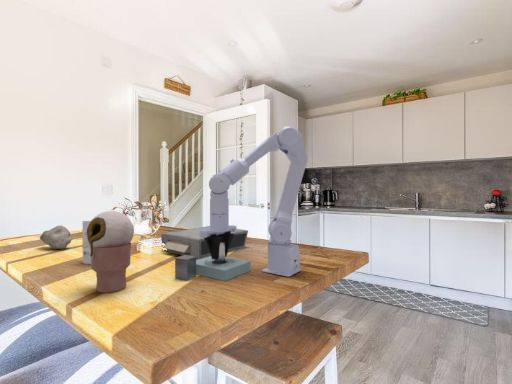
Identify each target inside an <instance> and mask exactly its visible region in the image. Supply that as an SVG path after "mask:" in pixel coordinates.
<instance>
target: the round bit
mask: <svg viewBox="0 0 512 384" xmlns="http://www.w3.org/2000/svg"><path fill="white" fill-rule="evenodd" d="M224 263H225V241H221V242H220V247H219V258H218V259H217V260H216V259H214V264H224Z"/></svg>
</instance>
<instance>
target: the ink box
mask: <svg viewBox="0 0 512 384" xmlns="http://www.w3.org/2000/svg"><path fill="white" fill-rule="evenodd" d="M90 221H91V220H83V221H82V232H81V233H82V236H81V237H82V264H85V265H91V257H90V254H91V251H90V244H89V242H88V240H87V235H86V230H87V227H88V224H89V223H90Z"/></svg>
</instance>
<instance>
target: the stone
mask: <svg viewBox="0 0 512 384" xmlns="http://www.w3.org/2000/svg"><path fill="white" fill-rule="evenodd" d="M72 237H73V236H72V234H71V232H70V231H69V229H68V228H66V227H65V226H63V225H62V224H61V225H56V226H55V227H52V228H50V229H49V230H44V231H43V232H42V233H41V235H40V237H39V239H40V240H41V241H42V242H43V243H44V244H46V245H48V246H49V247H50V248H52V249H54V250H59V249H60V250H61V249H62V250H63V249H65V248H66V247H68V245H69V244H71V243H72V240H73V238H72Z"/></svg>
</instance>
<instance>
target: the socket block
mask: <svg viewBox="0 0 512 384" xmlns="http://www.w3.org/2000/svg"><path fill="white" fill-rule="evenodd" d="M251 262H252V261H250V260H246V259H245V260H244V259H239V258H234V257H228V256H227V257H225V263H224V264H214V259H212V257H211V256H210V257H206V258H202V259H196V276H197V275H198V276H202V277H206V278H211V279H214V280H218V281H223V282H227V281H230V280H231V279H234V278H237V277H240V276H242V275H245V274H246V273H249V272H251V270H252V269H251V268H252V267H251V266H252V265H251V264H252V263H251Z"/></svg>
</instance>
